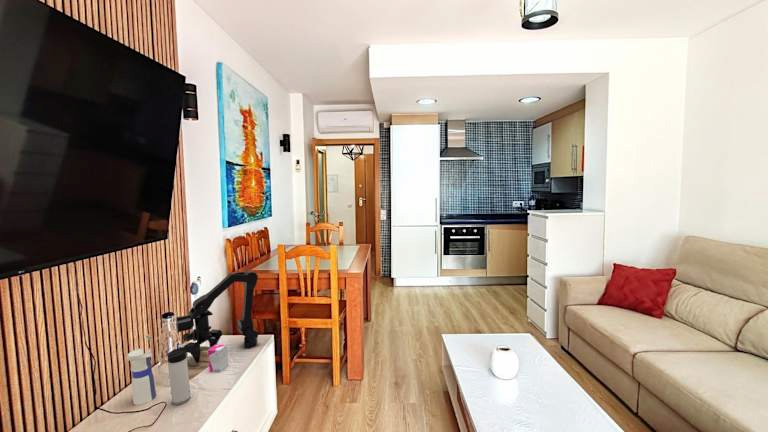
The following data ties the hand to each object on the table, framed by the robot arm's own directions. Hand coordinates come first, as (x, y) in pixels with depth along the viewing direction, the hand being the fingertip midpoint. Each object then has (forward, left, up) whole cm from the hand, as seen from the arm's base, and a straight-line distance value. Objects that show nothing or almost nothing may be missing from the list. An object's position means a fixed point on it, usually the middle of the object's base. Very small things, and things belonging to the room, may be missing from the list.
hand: (205, 357), depth 165 cm
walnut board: (+6, 0, -2) cm, 6 cm away
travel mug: (+27, +13, -2) cm, 30 cm away
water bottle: (+29, -3, -2) cm, 29 cm away
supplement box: (+6, +13, -2) cm, 15 cm away
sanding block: (0, 0, -1) cm, 1 cm away
